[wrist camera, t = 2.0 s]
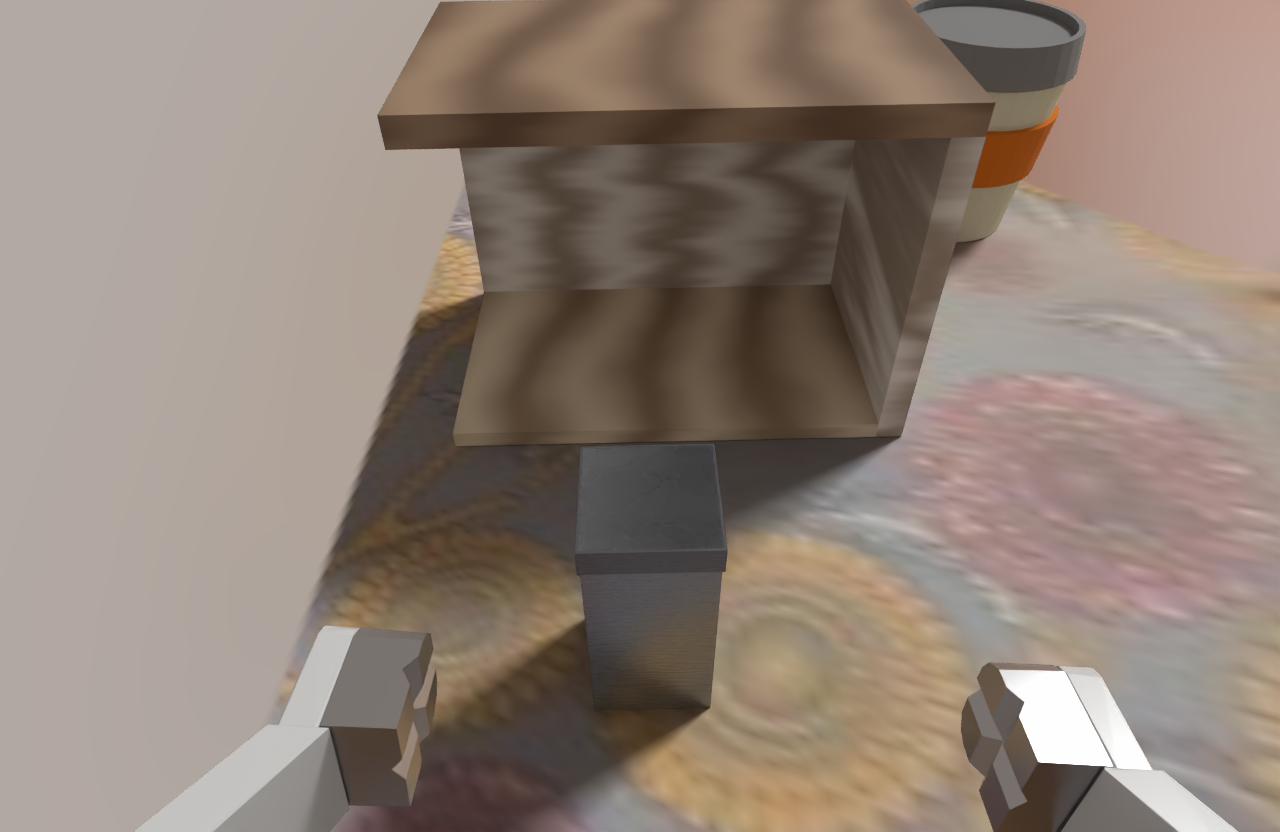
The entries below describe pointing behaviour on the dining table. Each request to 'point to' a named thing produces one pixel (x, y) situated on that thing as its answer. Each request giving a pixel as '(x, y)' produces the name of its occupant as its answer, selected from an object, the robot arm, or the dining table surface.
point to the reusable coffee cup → (1008, 87)
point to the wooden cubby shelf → (696, 210)
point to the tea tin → (650, 572)
